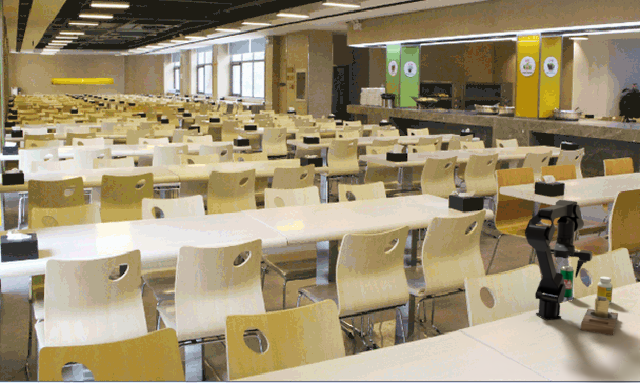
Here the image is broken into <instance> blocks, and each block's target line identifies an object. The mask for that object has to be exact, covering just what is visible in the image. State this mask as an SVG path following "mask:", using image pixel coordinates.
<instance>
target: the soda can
mask: <svg viewBox="0 0 640 383" xmlns="http://www.w3.org/2000/svg"><path fill="white" fill-rule="evenodd" d="M574 271H575V270H574V267H573V266H570V265H562V266H561V268H560V269H559V273H562V275H563V279H564V284H565V286H566V290H565V295H564V299H566V298H567V299H570V298H571V297H573V292H574V291H573V288H574V278H575V276H574V274H575V273H574Z"/></svg>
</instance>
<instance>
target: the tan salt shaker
mask: <svg viewBox="0 0 640 383" xmlns="http://www.w3.org/2000/svg"><path fill="white" fill-rule="evenodd" d="M594 300H595V301H594V316H596V317H600V318H608V312H609V305H610V303H609V300H608V299H607V298H606V297H602V296H599V297H598V298H597V297H596V298H595V299H594Z"/></svg>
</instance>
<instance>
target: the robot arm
mask: <svg viewBox="0 0 640 383" xmlns="http://www.w3.org/2000/svg"><path fill="white" fill-rule="evenodd" d="M542 220H545V221H550V223H551V225H550V226H547V225H546V226H545V225H539V223H541V221H542ZM555 220H556V223H557V229H556V226H555ZM584 225H585V224H584V220H583V217H582V212H581V208H580V205H579V204H578V202H577V201H576V200H575V201H574V200H567V199H566V200H565V199H559V200H557V201H556V202H555V205H551V206H547V207H542V208H539V210H538V211H537V213H536V214H535V215H534V216H533V217H532V218H531V219H529V220H528V223H527V225H526V228H525V230H524V236H525V238H526V241H527V243H528V245H529V246H531V248H533V249H534V251H535V255H536V257H537V262H538V266H539V270H540V273H541V279H540V281H539V282H538V283H539V284H538V286H537V289H536V291H535V293H534V294H535V296H534V297H535V300H539V301H538V302H539V303H538V312H535V315H536V314H537V315H536V316H538V315H539V316H538V317H540V316H541V319H544V320H546V319H549V320H555V319H556V320H559V319H562V316H560V313H561V310H560V309H561V303H562V302H564V299H565V298H564V295H565V290H566V286H565V284H564V279H563V275H562V273H560V272H557V271H556V266H555V263H554V259H553V257H555V258H562V259H568V258H569V257H573V258H574V257H575V258H578V259H577V264H576V268H575V269H576V270H575V273H574V274H575V276H574V278H575V279H576V278H577V277H578V276H579V273H580V271H581V269H582V267H583V265H584V264H587V262H591V260H592V259H593V255H594V253H593V251H592V250H587V249H586V250H585V249H581V250H580V251H576V247H575V245H574V240H575V239H574V238H575V237H574V236H575V232H578V231H580V230H582V229H583V227H584ZM556 230H557V233H556V234H557V235H556V242H555V243H554V247H553V248H552V247H551V246H550V244H551V242H552V240H553V237H554V235H555V232H556Z"/></svg>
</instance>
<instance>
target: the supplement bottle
mask: <svg viewBox="0 0 640 383" xmlns="http://www.w3.org/2000/svg"><path fill="white" fill-rule="evenodd" d="M599 296H602V297H606V298H607V299H608V300H609V304H611V303H612V300H613V284H612V277H608V276H600V277H599V282H597V287H596V298H598V297H599Z"/></svg>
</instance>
